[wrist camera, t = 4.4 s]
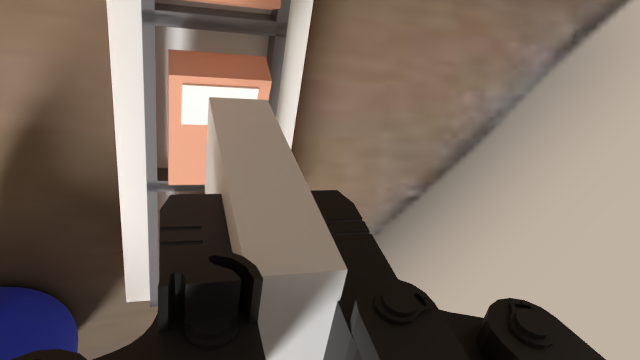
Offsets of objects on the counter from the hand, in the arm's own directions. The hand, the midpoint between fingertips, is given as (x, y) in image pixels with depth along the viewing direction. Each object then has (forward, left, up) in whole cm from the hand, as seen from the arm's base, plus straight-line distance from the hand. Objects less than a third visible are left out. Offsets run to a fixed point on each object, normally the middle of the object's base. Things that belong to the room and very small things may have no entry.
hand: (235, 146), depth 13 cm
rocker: (+1, 0, -5) cm, 5 cm away
